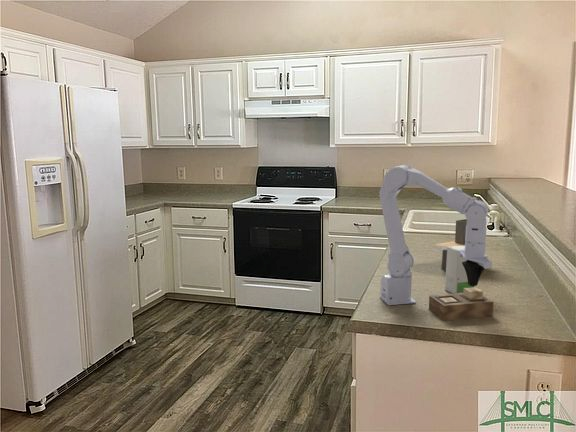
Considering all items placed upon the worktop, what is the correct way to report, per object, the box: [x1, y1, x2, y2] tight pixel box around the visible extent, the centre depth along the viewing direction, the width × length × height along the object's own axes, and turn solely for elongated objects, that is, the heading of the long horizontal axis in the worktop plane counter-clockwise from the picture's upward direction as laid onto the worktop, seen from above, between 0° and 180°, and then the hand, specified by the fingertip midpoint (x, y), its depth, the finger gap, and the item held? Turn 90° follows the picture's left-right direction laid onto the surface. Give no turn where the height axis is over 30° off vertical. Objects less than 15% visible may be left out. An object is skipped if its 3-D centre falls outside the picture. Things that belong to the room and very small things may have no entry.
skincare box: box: [444, 246, 476, 294], centre depth 164 cm, size 8×7×16 cm
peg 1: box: [440, 297, 456, 302], centre depth 145 cm, size 4×4×4 cm
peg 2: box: [463, 286, 484, 300], centre depth 146 cm, size 4×4×4 cm
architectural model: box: [435, 218, 489, 270], centre depth 192 cm, size 38×25×20 cm, turn 118°
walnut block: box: [428, 293, 494, 321], centre depth 146 cm, size 16×9×5 cm, turn 101°
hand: (472, 285), depth 146 cm, fingers closed
